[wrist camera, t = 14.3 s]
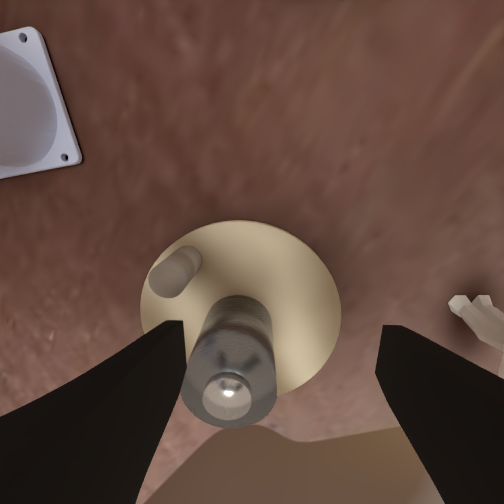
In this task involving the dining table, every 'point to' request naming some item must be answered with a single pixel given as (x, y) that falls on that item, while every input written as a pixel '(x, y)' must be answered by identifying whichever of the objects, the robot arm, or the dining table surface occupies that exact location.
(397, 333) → the robot arm
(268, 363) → the grey short cylinder
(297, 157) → the dining table surface
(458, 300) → the toy robot
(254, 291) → the turntable
